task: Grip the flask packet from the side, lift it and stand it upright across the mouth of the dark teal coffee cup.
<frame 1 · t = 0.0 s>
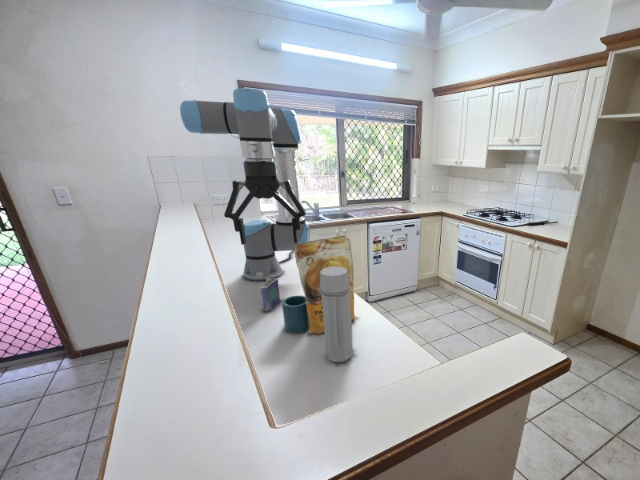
hand: (270, 242, 91), 28 cm above the counter, tool pointing down, fingers open, 13 cm apart
pancake mix bag: (331, 325, 105), on the counter
coffee cup: (298, 326, 104), on the counter
water bottle: (339, 358, 89), on the counter
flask: (272, 306, 116), on the counter
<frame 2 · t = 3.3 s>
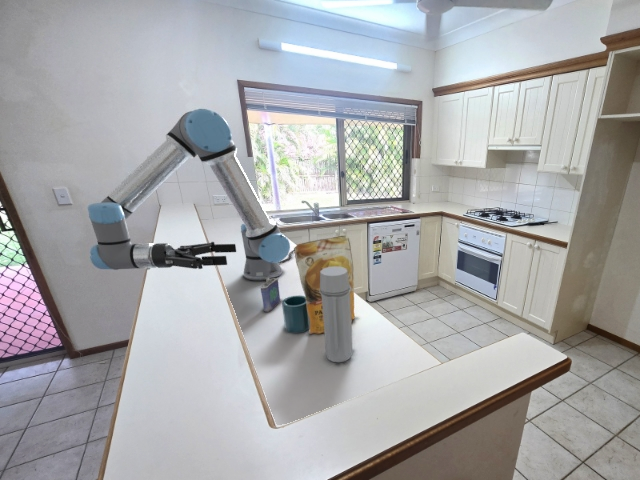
hand: (231, 253, 106), 20 cm above the counter, tool horizontal, fingers open, 13 cm apart
nothing on the counter moved.
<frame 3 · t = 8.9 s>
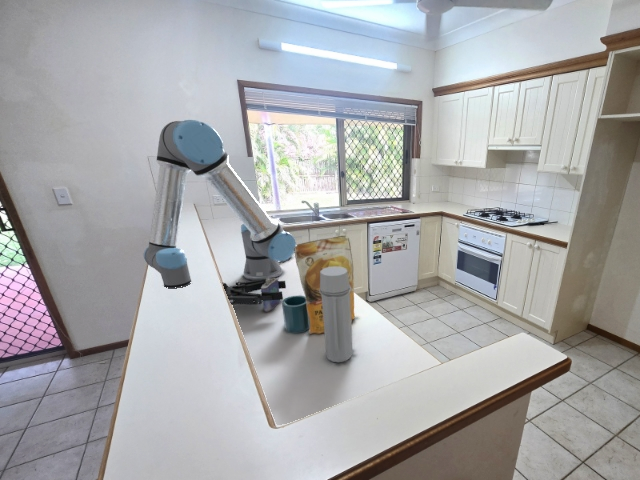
hand: (283, 289, 114), 6 cm above the counter, tool horizontal, fingers closed on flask, 9 cm apart
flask: (272, 306, 116), on the counter, touching gripper
everything else where it was.
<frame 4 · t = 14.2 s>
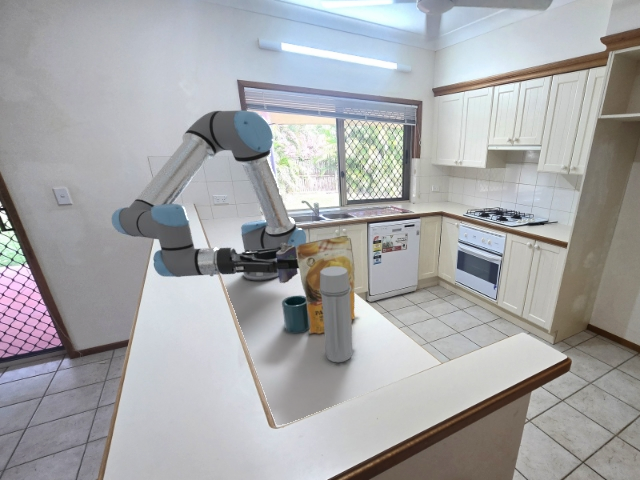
hand: (302, 258, 97), 22 cm above the counter, tool horizontal, fingers closed on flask, 9 cm apart
pancake mix bag: (331, 325, 105), on the counter, touching gripper
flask: (288, 278, 99), point 16 cm above the counter, touching gripper
everything else where it was.
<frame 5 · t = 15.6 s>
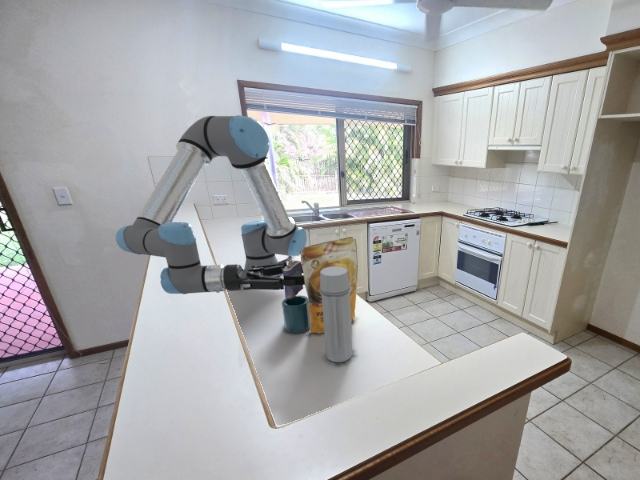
hand: (308, 273, 98), 18 cm above the counter, tool horizontal, fingers closed on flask, 9 cm apart
pancake mix bag: (331, 324, 105), on the counter
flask: (294, 293, 99), point 11 cm above the counter, touching gripper
everything else where it was.
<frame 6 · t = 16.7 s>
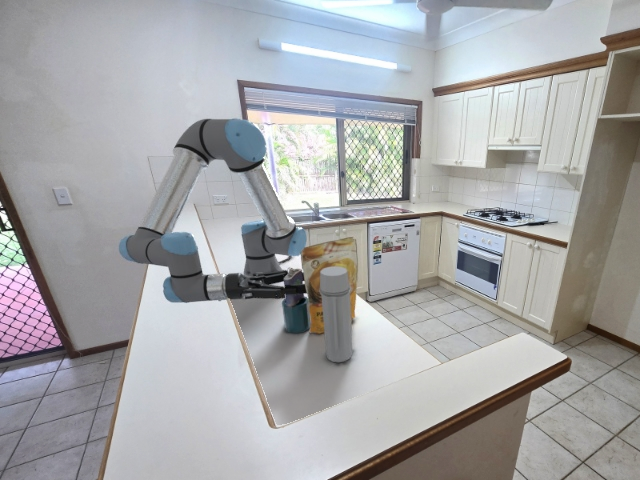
hand: (309, 282, 99), 15 cm above the counter, tool horizontal, fingers closed on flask, 9 cm apart
pancake mix bag: (331, 324, 105), on the counter, touching gripper
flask: (295, 301, 100), point 9 cm above the counter, touching coffee cup, gripper
everything else where it was.
when the fingers open (15 cm above the counter, at t = 17.0 s): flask stays where it is, resting on coffee cup.
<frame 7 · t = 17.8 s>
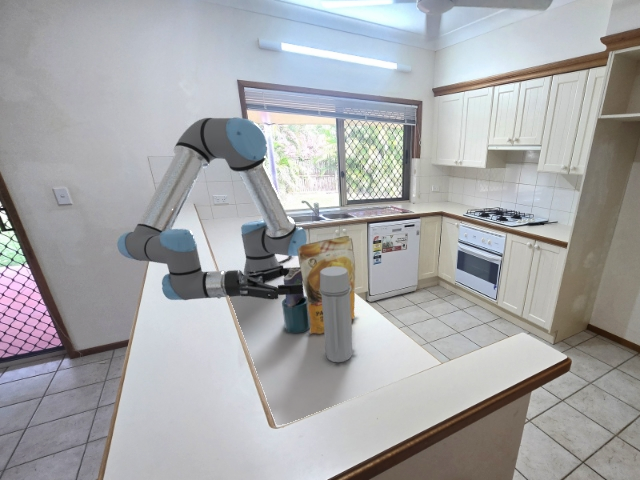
hand: (304, 279, 98), 16 cm above the counter, tool horizontal, fingers open, 13 cm apart
pancake mix bag: (331, 324, 105), on the counter
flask: (295, 301, 100), point 9 cm above the counter, touching coffee cup
everything else where it was.
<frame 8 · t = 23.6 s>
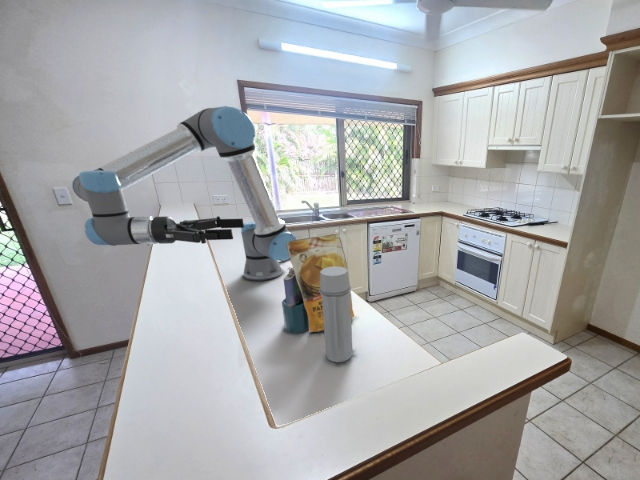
hand: (238, 228, 96), 30 cm above the counter, tool horizontal, fingers open, 13 cm apart
at the end: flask 0.0 cm off-centre on the coffee cup, point 8.8 cm above the coffee cup's base; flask tilted 0°; the gripper is holding nothing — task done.
